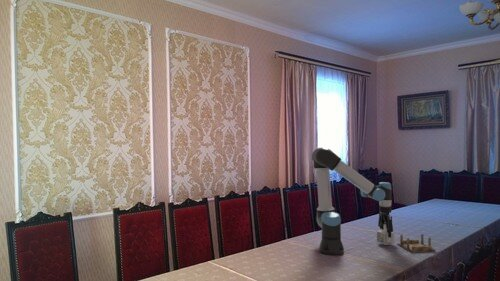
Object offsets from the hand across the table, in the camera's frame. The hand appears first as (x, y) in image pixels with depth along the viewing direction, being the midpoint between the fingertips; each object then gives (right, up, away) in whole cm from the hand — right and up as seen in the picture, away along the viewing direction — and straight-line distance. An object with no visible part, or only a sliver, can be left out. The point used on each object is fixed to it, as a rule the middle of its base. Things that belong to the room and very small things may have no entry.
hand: (385, 240), depth 227 cm
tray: (+16, -3, -8) cm, 18 cm away
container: (0, -2, 0) cm, 2 cm away
